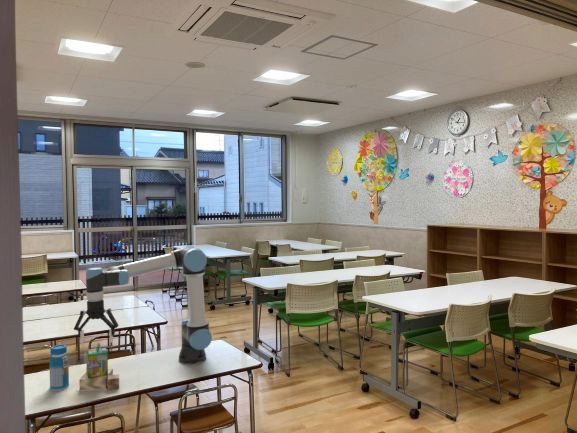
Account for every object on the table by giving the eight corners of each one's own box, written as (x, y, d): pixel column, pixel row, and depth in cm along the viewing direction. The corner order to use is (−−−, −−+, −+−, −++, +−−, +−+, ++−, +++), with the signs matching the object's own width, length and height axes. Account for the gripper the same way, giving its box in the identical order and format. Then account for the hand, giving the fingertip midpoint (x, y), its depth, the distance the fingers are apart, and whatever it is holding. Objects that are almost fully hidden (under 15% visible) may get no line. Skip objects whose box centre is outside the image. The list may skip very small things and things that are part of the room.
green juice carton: (86, 372, 217) (85, 342, 217) (106, 369, 221) (105, 339, 221) (87, 379, 209) (87, 348, 209) (108, 375, 213) (107, 345, 213)
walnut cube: (118, 384, 215) (118, 374, 214) (119, 388, 210) (119, 378, 210) (107, 385, 213) (107, 375, 213) (107, 389, 208) (107, 379, 208)
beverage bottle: (51, 392, 206) (50, 350, 206) (48, 386, 213) (47, 346, 213) (70, 388, 211) (70, 347, 211) (67, 382, 218) (66, 342, 218)
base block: (113, 378, 222) (112, 368, 222) (105, 388, 210) (105, 378, 210) (88, 379, 220) (87, 369, 220) (79, 389, 209) (79, 379, 208)
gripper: (123, 296, 219) (125, 338, 220) (71, 299, 216) (73, 341, 217) (119, 300, 212) (121, 343, 212) (65, 302, 209) (67, 347, 210)
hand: (97, 342), depth 215 cm, fingers open, 13 cm apart
